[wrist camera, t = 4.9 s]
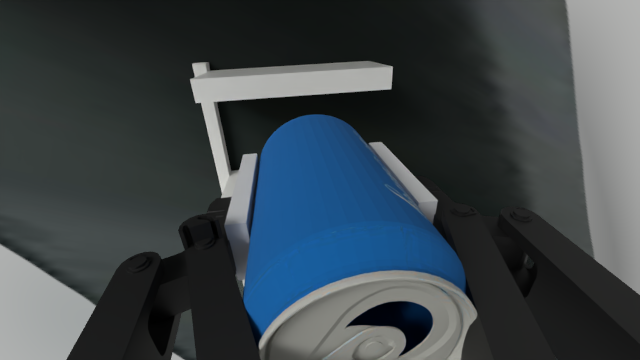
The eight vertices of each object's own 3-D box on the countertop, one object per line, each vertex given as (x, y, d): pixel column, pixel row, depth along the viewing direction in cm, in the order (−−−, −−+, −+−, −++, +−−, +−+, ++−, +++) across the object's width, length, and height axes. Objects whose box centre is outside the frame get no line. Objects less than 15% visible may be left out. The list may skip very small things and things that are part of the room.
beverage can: (384, 159, 18) (537, 337, 7) (313, 223, 20) (358, 445, 9) (313, 86, 15) (394, 202, 5) (237, 166, 17) (173, 389, 6)
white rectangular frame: (196, 62, 23) (170, 69, 18) (368, 52, 24) (393, 56, 19) (250, 301, 36) (244, 347, 30) (362, 286, 37) (375, 327, 32)
